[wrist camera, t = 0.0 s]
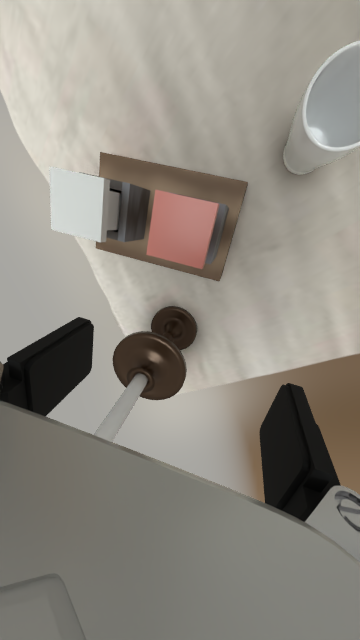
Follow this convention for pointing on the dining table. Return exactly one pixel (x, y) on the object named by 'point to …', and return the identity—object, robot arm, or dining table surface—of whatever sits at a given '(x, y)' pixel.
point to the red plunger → (181, 228)
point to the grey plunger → (83, 204)
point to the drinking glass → (327, 114)
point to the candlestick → (150, 364)
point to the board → (137, 206)
